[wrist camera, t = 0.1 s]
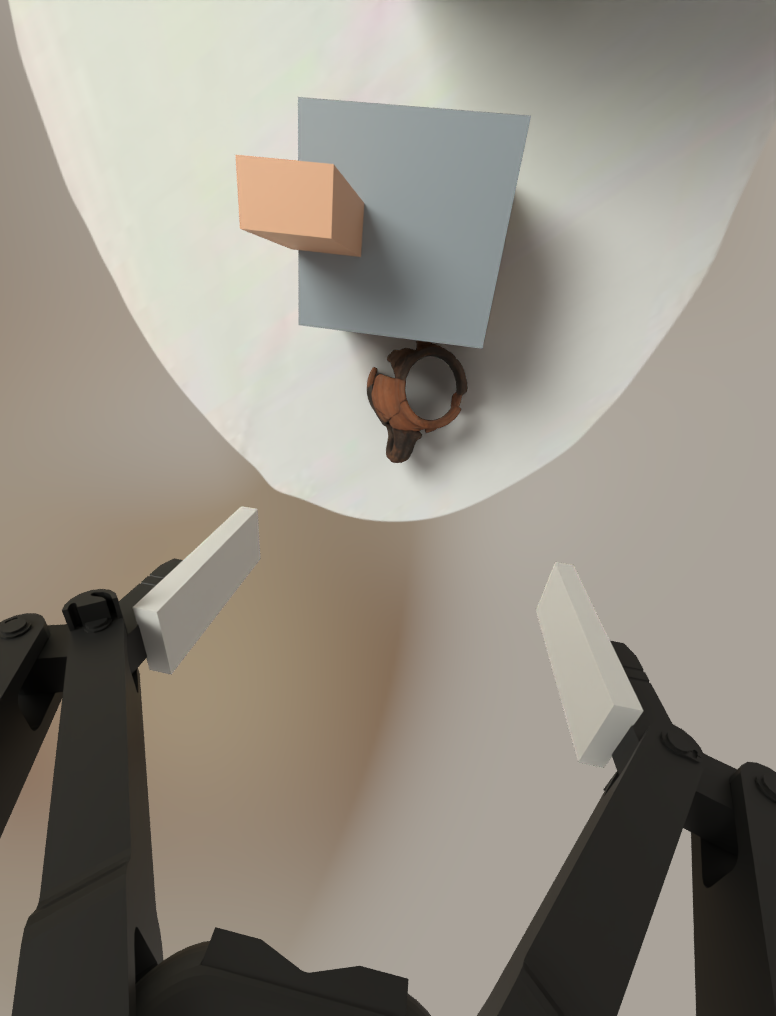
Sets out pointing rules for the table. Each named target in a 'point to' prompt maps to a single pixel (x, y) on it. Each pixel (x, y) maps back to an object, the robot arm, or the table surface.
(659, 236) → the table surface
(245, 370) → the table surface
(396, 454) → the pottery mug
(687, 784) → the robot arm
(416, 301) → the lid
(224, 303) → the table surface
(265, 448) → the table surface
